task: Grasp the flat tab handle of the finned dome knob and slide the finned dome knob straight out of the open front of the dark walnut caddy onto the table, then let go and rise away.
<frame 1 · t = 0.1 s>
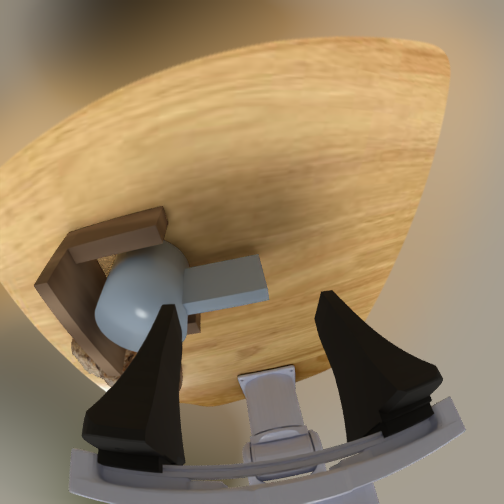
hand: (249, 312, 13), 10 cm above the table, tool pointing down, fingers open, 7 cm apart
rock: (126, 361, 31), on the table
caddy: (151, 271, 23), on the table
finned dome knob: (151, 270, 23), on the table
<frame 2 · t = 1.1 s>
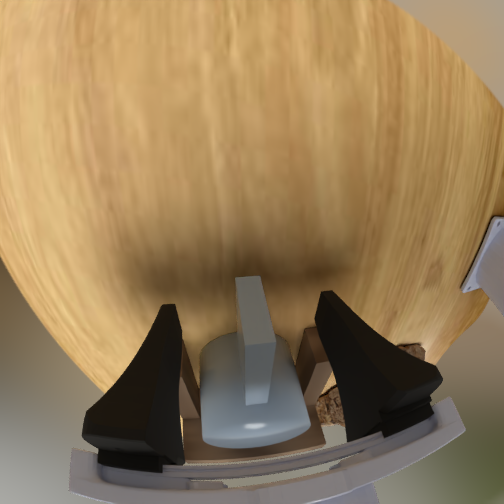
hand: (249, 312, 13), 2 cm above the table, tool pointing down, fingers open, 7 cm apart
rock: (363, 380, 28), on the table
caddy: (245, 359, 20), on the table
finned dome knob: (245, 358, 20), on the table
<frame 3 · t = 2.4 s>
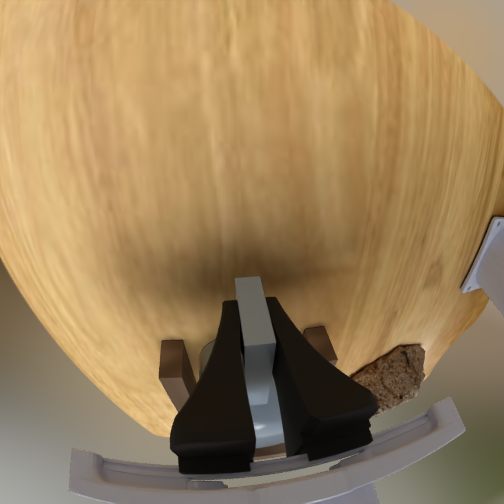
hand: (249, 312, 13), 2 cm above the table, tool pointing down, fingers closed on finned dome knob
rock: (363, 381, 28), on the table
caddy: (245, 359, 20), on the table
finned dome knob: (245, 359, 20), on the table, touching gripper
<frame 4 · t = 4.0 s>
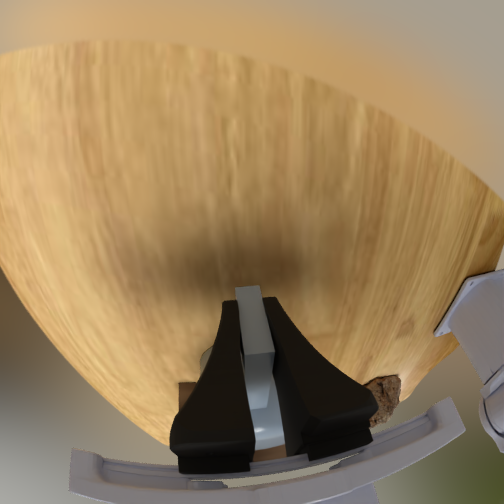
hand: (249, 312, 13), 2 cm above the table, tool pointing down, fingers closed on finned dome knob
rock: (347, 402, 31), on the table
caddy: (245, 393, 23), on the table
finned dome knob: (244, 363, 20), on the table, touching gripper
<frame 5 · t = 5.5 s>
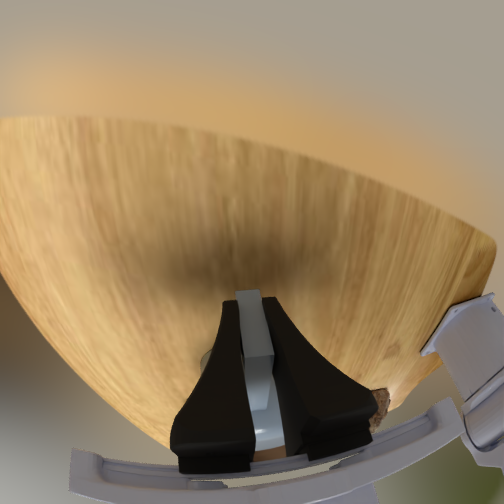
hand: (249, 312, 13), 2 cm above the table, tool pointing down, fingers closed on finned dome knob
rock: (340, 412, 33), on the table
caddy: (245, 407, 25), on the table
finned dome knob: (244, 365, 20), on the table, touching gripper
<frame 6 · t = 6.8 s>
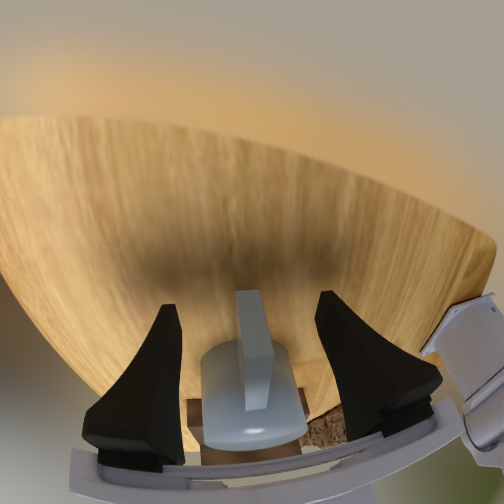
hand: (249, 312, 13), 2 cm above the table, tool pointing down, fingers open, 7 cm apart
rock: (340, 412, 33), on the table
caddy: (245, 407, 25), on the table
finned dome knob: (244, 364, 20), on the table
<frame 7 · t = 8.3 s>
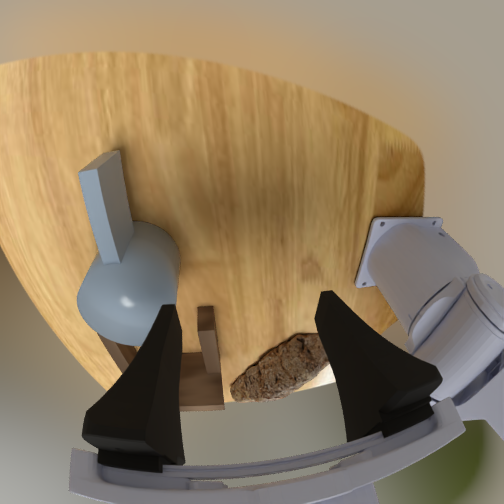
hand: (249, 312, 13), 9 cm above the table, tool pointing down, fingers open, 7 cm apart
rock: (283, 364, 35), on the table
caddy: (161, 328, 27), on the table
finned dome knob: (140, 257, 22), on the table
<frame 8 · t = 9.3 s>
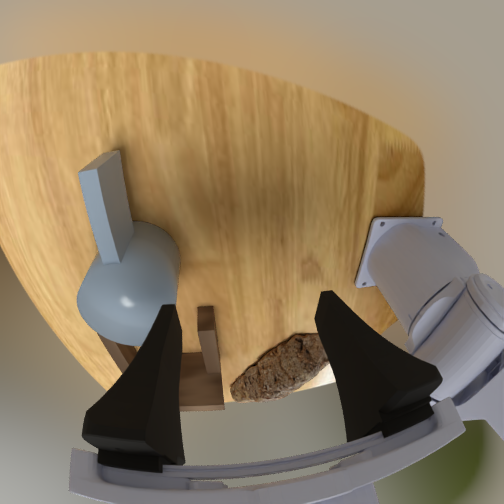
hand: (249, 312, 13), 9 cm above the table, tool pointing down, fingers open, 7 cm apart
rock: (283, 364, 35), on the table
caddy: (161, 328, 27), on the table
finned dome knob: (140, 257, 22), on the table
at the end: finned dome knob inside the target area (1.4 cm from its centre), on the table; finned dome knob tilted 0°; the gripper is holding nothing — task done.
